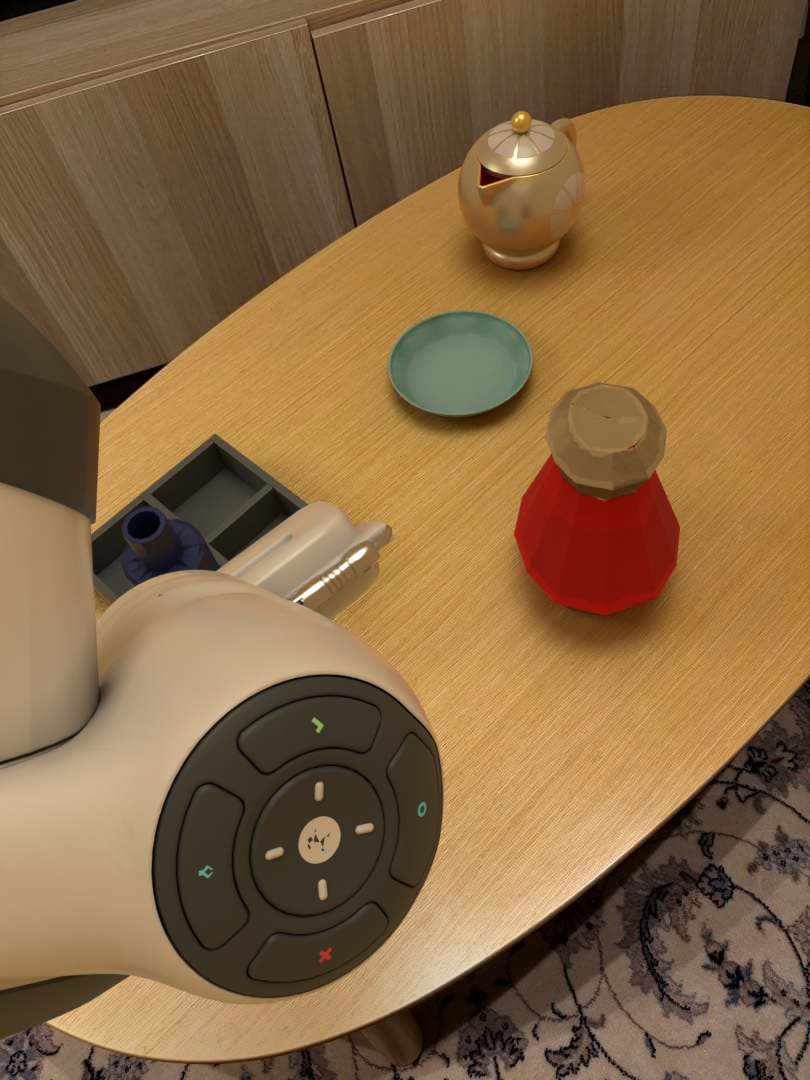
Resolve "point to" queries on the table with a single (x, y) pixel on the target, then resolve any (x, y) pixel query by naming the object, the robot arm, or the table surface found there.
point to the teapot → (522, 189)
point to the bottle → (600, 504)
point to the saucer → (460, 363)
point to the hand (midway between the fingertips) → (158, 634)
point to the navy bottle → (162, 546)
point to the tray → (200, 509)
